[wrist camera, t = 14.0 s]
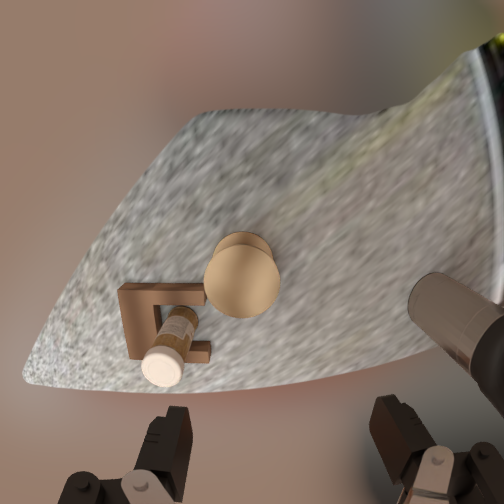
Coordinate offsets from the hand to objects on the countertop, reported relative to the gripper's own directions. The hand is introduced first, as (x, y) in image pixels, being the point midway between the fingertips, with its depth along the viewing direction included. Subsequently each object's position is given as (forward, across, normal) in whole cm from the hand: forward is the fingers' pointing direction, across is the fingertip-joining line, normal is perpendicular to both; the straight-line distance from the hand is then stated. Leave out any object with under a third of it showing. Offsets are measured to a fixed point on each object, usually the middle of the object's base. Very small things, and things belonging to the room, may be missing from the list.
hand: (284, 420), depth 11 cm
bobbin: (+30, +2, +1) cm, 30 cm away
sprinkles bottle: (+30, +11, +9) cm, 34 cm away
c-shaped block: (+30, +13, +9) cm, 34 cm away
